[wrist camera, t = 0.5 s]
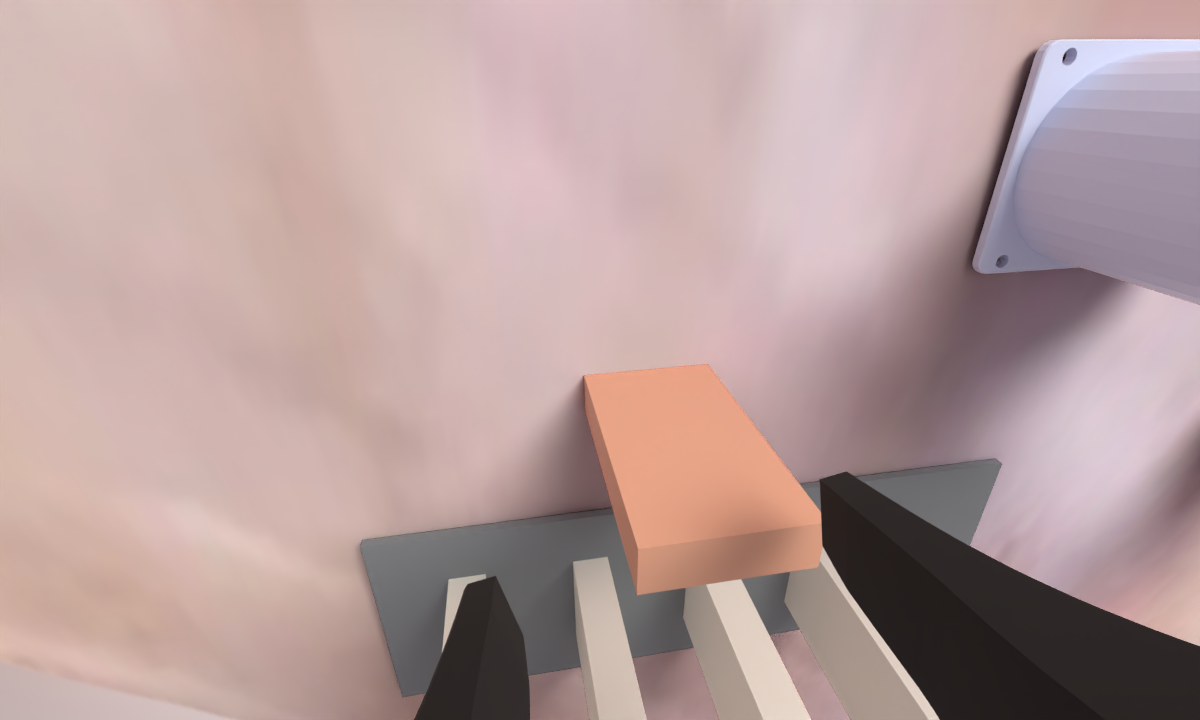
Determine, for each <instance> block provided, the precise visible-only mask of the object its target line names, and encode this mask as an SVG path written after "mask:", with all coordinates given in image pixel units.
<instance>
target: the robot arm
mask: <svg viewBox="0 0 1200 720" xmlns="http://www.w3.org/2000/svg"><path fill="white" fill-rule="evenodd" d="M1065 52H1066V58H1065V60H1064V61H1063V62H1062V59H1063V55H1064V54H1065ZM999 257H1000V259H999V261H998V262H997V260H998V258H999ZM996 262H997V263H996ZM972 266H973V269H974V270H976V271H977V272H980V273H982V274H995V273H1009V272H1023V271H1037V270H1050V269H1064V268H1078V267H1081V268H1084V269H1087V270H1090V271H1093V272H1096V273H1100V274H1103V275H1106V276H1109V277H1112V278H1115V279H1119V280H1122V281H1125V282H1128V283H1131V284H1135V285H1138V286H1141V287H1144V288H1147V289H1150V290H1154V291H1157V292H1160V293H1163V294H1166V295H1170V296H1173V297H1176V298H1179V299H1182V300H1185V301H1189V302H1192V303H1195V304H1198V305H1200V39H1061V40H1051V41H1047V42H1046V43H1044V44H1043V45H1042V46H1041V47H1040V48H1039V50H1038V51H1037V53H1036V55H1035V58H1034V61H1033V64H1032V68H1031V71H1030V74H1029V77H1028V81H1027V84H1026V87H1025V91H1024V94H1023V97H1022V100H1021V104H1020V107H1019V110H1018V114H1017V117H1016V120H1015V123H1014V127H1013V130H1012V133H1011V137H1010V140H1009V143H1008V147H1007V150H1006V153H1005V156H1004V160H1003V163H1002V166H1001V170H1000V173H999V176H998V179H997V183H996V186H995V189H994V193H993V196H992V199H991V202H990V206H989V209H988V212H987V216H986V219H985V222H984V226H983V229H982V232H981V235H980V239H979V242H978V245H977V249H976V252H975V255H974V258H973V264H972ZM820 499H821V524H822V546H823V548H824V550H825V551H826V553H827V555H828V557H829V559H830V561H831V562H832V564H833V566H834V568H835V570H836V571H837V573H838V575H839V576H840V578H841V580H842V582H843V583H844V585H845V587H846V588H847V590H848V591H849V593H850V594H851V596H852V597H853V598H854V600H855V601H856V603H857V604H858V605H859V607H860V608H861V610H862V611H863V612H864V614H865V615H866V617H867V618H868V619H869V621H870V622H871V623H872V625H873V626H874V628H875V629H876V630H877V632H878V633H879V634H880V636H881V637H882V638H883V640H884V641H885V643H886V644H887V645H888V647H889V648H890V649H891V651H892V652H893V654H894V655H895V656H896V658H897V659H898V660H899V662H900V663H901V664H902V666H903V667H904V669H905V670H906V671H907V673H908V674H909V675H910V677H911V678H912V680H913V681H914V682H915V684H916V685H917V686H918V688H919V689H920V691H921V692H922V694H923V695H924V697H925V698H926V699H927V701H928V702H929V704H930V705H931V707H932V708H933V710H934V711H935V713H936V715H937V716H938V718H939V719H940V720H1200V646H1197V645H1194V644H1191V643H1188V642H1186V641H1183V640H1180V639H1178V638H1175V637H1172V636H1169V635H1167V634H1164V633H1161V632H1159V631H1156V630H1153V629H1151V628H1148V627H1146V626H1143V625H1141V624H1138V623H1135V622H1133V621H1130V620H1128V619H1125V618H1123V617H1120V616H1118V615H1115V614H1113V613H1110V612H1108V611H1105V610H1103V609H1100V608H1098V607H1096V606H1093V605H1091V604H1088V603H1086V602H1084V601H1081V600H1079V599H1077V598H1074V597H1072V596H1070V595H1068V594H1066V593H1063V592H1061V591H1059V590H1057V589H1055V588H1053V587H1050V586H1048V585H1046V584H1044V583H1042V582H1039V581H1037V580H1035V579H1033V578H1031V577H1029V576H1027V575H1025V574H1023V573H1020V572H1018V571H1016V570H1014V569H1012V568H1010V567H1008V566H1006V565H1004V564H1003V563H1001V562H999V561H997V560H995V559H993V558H991V557H989V556H987V555H986V554H984V553H982V552H980V551H978V550H976V549H974V548H972V547H971V546H969V545H967V544H965V543H963V542H962V541H960V540H958V539H956V538H955V537H953V536H951V535H949V534H948V533H946V532H944V531H943V530H941V529H939V528H937V527H936V526H934V525H932V524H931V523H929V522H927V521H925V520H924V519H922V518H920V517H919V516H917V515H915V514H914V513H912V512H910V511H909V510H907V509H906V508H904V507H902V506H901V505H899V504H898V503H896V502H894V501H893V500H891V499H889V498H888V497H886V496H885V495H883V494H882V493H880V492H878V491H877V490H875V489H874V488H872V487H870V486H869V485H867V484H866V483H864V482H862V481H861V480H859V479H858V478H856V477H854V476H853V475H851V474H849V473H848V472H844V473H840V474H837V475H834V476H830V477H827V478H823V479H820ZM414 720H530V694H529V679H528V669H527V660H526V652H525V643H524V636H523V634H522V631H521V629H520V627H519V625H518V623H517V621H516V618H515V616H514V614H513V612H512V610H511V608H510V605H509V603H508V601H507V599H506V597H505V595H504V592H503V590H502V588H501V586H500V584H499V582H498V580H497V577H496V576H493V577H489V578H486V579H483V580H479V581H476V582H473V583H469V584H467V586H466V587H465V589H464V591H463V594H462V598H461V601H460V604H459V607H458V610H457V613H456V616H455V618H454V621H453V624H452V627H451V630H450V633H449V635H448V638H447V641H446V644H445V646H444V649H443V652H442V654H441V657H440V659H439V662H438V664H437V667H436V669H435V672H434V674H433V677H432V679H431V682H430V684H429V687H428V689H427V692H426V694H425V697H424V699H423V701H422V704H421V706H420V708H419V710H418V712H417V715H416V717H415V719H414Z"/></svg>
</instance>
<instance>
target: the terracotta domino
mask: <svg viewBox="0 0 1200 720" xmlns="http://www.w3.org/2000/svg"><path fill="white" fill-rule="evenodd" d="M584 390H585V412H586V416H587V419H588V423H589V426H590V430H591V434H592V437H593V441H594V444H595V448H596V451H597V455H598V458H599V462H600V466H601V469H602V473H603V476H604V480H605V483H606V487H607V491H608V494H609V498H610V501H611V505H612V508H613V512H614V515H615V519H616V523H617V526H618V530H619V533H620V537H621V540H622V544H623V547H624V551H625V555H626V558H627V562H628V565H629V569H630V572H631V576H632V579H633V583H634V587H635V590H636V594H637V595H642V594H648V593H655V592H661V591H668V590H674V589H681V588H687V587H694V586H700V585H707V584H713V583H720V582H726V581H733V580H739V579H746V578H752V577H759V576H765V575H772V574H778V573H785V572H791V571H798V570H804V569H811V568H817V567H818V566H819V561H820V557H821V553H822V548H823V546H822V524H821V512H820V510H819V509H818V508H817V506H816V505H815V504H814V502H813V501H812V500H811V499H810V497H809V496H808V495H807V493H806V492H805V491H804V489H803V488H802V487H801V485H800V484H799V483H798V482H797V480H796V479H795V478H794V476H793V475H792V474H791V472H790V471H789V470H788V468H787V467H786V466H785V465H784V463H783V462H782V461H781V459H780V458H779V457H778V455H777V454H776V453H775V451H774V450H773V449H772V447H771V446H770V445H769V444H768V442H767V441H766V440H765V438H764V437H763V436H762V434H761V433H760V432H759V430H758V429H757V428H756V427H755V425H754V424H753V423H752V421H751V420H750V419H749V417H748V416H747V415H746V413H745V412H744V411H743V410H742V408H741V407H740V406H739V404H738V403H737V402H736V400H735V399H734V398H733V396H732V395H731V394H730V393H729V391H728V390H727V389H726V387H725V386H724V385H723V383H722V382H721V381H720V379H719V378H718V377H717V376H716V374H715V373H714V372H713V370H712V369H711V368H710V366H709V365H708V364H703V365H693V366H682V367H671V368H660V369H649V370H638V371H627V372H616V373H606V374H595V375H584Z"/></svg>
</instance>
